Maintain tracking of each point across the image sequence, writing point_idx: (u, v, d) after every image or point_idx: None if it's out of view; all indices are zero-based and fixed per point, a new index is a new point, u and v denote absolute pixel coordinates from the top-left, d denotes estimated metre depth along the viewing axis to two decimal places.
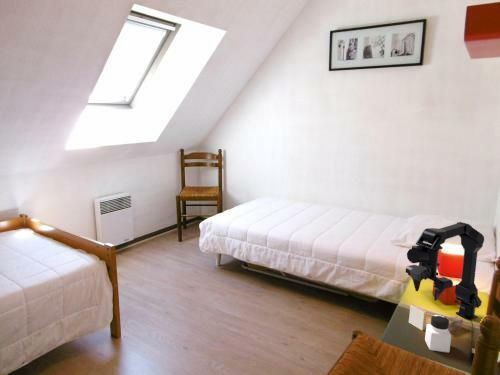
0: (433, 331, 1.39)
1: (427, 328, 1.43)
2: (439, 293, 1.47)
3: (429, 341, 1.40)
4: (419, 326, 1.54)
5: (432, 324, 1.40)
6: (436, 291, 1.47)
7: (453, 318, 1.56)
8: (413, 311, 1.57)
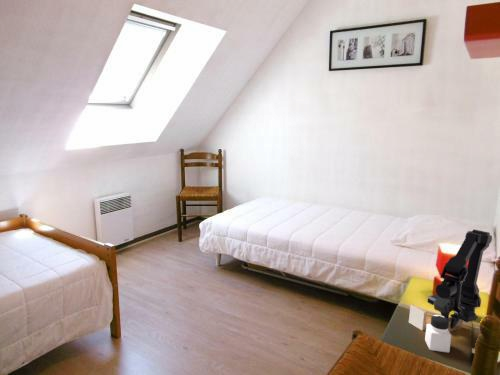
0: (433, 331, 1.39)
1: (427, 328, 1.43)
2: (456, 321, 1.52)
3: (429, 341, 1.40)
4: (419, 326, 1.54)
5: (432, 324, 1.40)
6: (453, 320, 1.51)
7: None
8: (413, 311, 1.57)
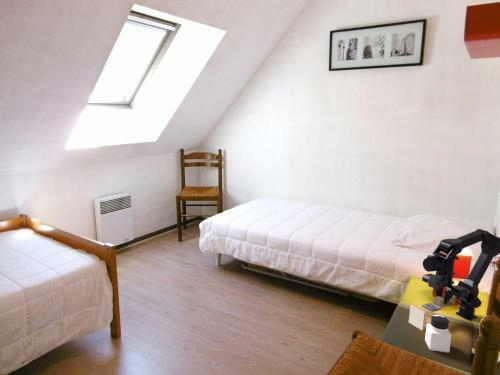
0: (433, 331, 1.39)
1: (427, 328, 1.43)
2: (449, 298, 1.58)
3: (429, 341, 1.40)
4: (419, 326, 1.54)
5: (432, 324, 1.40)
6: (446, 296, 1.58)
7: None
8: (413, 311, 1.57)
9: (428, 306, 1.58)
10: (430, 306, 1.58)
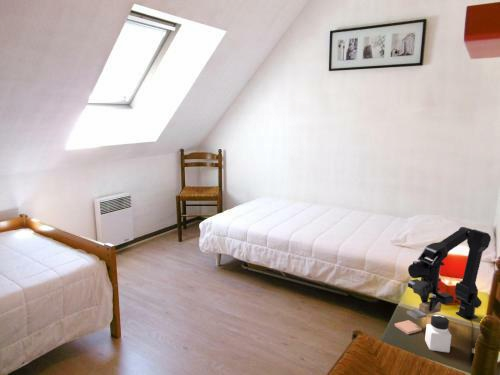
0: (433, 331, 1.39)
1: (427, 328, 1.43)
2: (434, 304, 1.55)
3: (429, 341, 1.40)
4: None
5: (432, 324, 1.40)
6: (431, 303, 1.54)
7: None
8: None
9: (413, 313, 1.55)
10: (415, 313, 1.55)
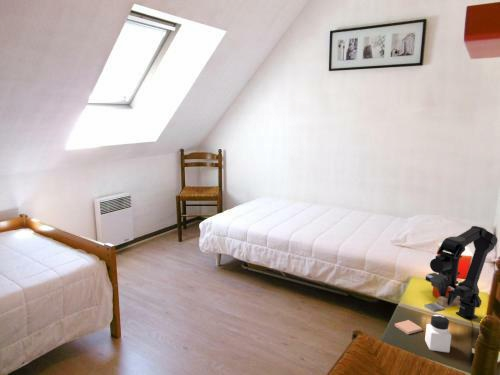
0: (433, 331, 1.39)
1: (427, 328, 1.43)
2: (452, 298, 1.53)
3: (429, 341, 1.40)
4: None
5: (432, 324, 1.40)
6: (450, 296, 1.53)
7: None
8: None
9: (431, 306, 1.53)
10: (433, 306, 1.53)
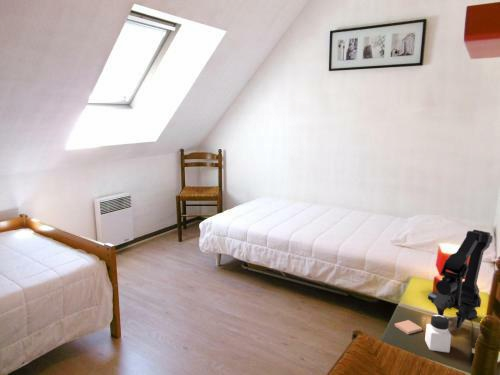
0: (433, 331, 1.39)
1: (427, 328, 1.43)
2: (461, 321, 1.49)
3: (429, 341, 1.40)
4: None
5: (432, 324, 1.40)
6: (459, 319, 1.49)
7: (453, 318, 1.56)
8: None
9: None
10: None
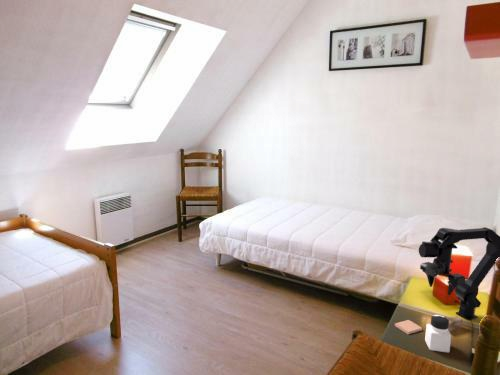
0: (433, 331, 1.39)
1: (427, 328, 1.43)
2: (452, 288, 1.58)
3: (429, 341, 1.40)
4: None
5: (432, 324, 1.40)
6: (450, 286, 1.58)
7: (453, 318, 1.56)
8: None
9: None
10: None
